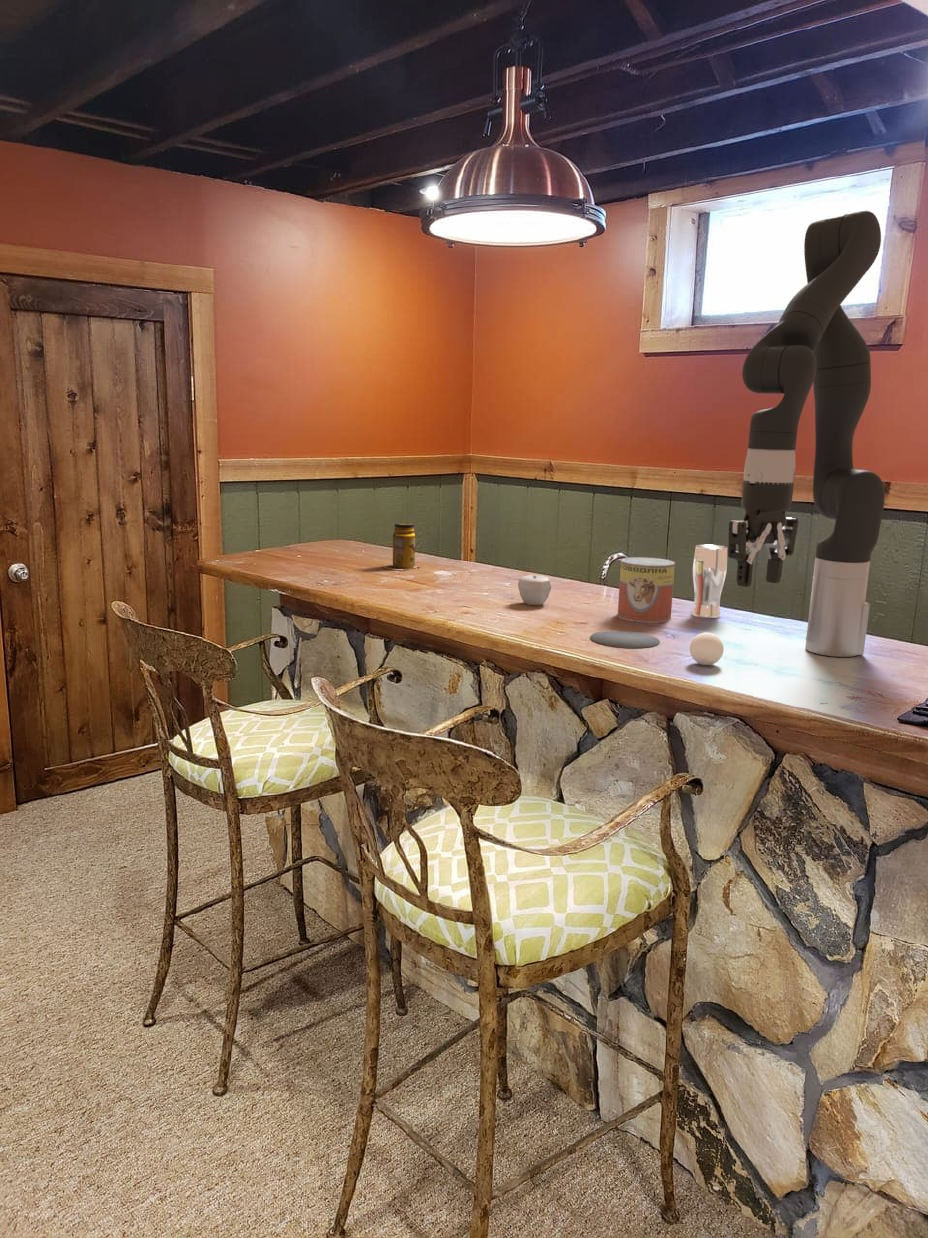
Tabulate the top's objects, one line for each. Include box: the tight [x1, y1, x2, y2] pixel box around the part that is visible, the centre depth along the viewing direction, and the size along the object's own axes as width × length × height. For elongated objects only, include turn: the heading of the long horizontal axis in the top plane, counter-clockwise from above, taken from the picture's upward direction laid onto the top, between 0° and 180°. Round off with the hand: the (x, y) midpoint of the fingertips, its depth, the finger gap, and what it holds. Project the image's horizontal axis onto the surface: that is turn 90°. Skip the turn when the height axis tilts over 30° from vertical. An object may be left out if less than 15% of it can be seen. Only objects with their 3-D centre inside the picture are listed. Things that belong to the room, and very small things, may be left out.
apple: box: [517, 574, 552, 606], centre depth 204 cm, size 8×8×7 cm
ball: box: [689, 632, 725, 666], centre depth 157 cm, size 6×6×6 cm
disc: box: [589, 630, 661, 649], centre depth 173 cm, size 13×13×1 cm
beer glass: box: [690, 543, 728, 620], centre depth 195 cm, size 7×7×15 cm
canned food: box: [616, 556, 676, 623], centre depth 193 cm, size 11×11×12 cm
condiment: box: [380, 522, 416, 571], centre depth 247 cm, size 7×8×12 cm
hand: (758, 583), depth 146 cm, fingers open, 6 cm apart
